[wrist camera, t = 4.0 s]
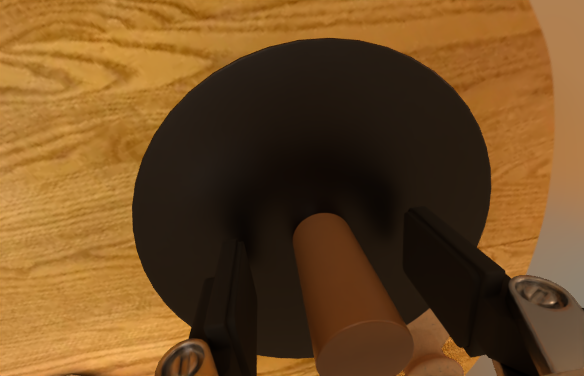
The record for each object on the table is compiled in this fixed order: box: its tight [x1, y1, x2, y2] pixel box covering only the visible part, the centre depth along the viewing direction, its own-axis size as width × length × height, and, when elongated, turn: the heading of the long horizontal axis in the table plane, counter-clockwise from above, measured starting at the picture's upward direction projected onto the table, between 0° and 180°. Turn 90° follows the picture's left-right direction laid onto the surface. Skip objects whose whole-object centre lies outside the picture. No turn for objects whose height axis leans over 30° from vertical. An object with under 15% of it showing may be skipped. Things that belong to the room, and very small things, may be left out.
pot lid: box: [132, 38, 491, 376], centre depth 10 cm, size 16×16×7 cm
